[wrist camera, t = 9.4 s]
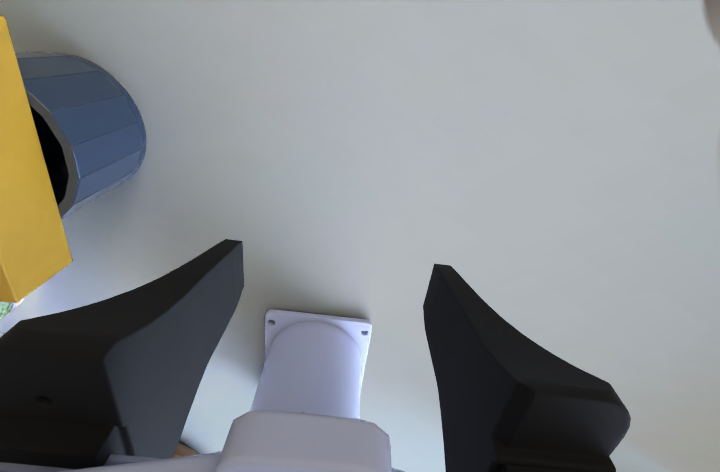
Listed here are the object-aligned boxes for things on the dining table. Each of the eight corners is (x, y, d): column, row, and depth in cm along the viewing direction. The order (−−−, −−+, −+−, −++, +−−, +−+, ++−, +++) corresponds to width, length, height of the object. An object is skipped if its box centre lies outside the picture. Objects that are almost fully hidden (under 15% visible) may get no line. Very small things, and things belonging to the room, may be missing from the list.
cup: (154, 192, 24) (93, 236, 19) (32, 177, 24) (-66, 218, 18) (136, 62, 20) (54, 70, 15) (-9, 43, 20) (-145, 44, 15)
